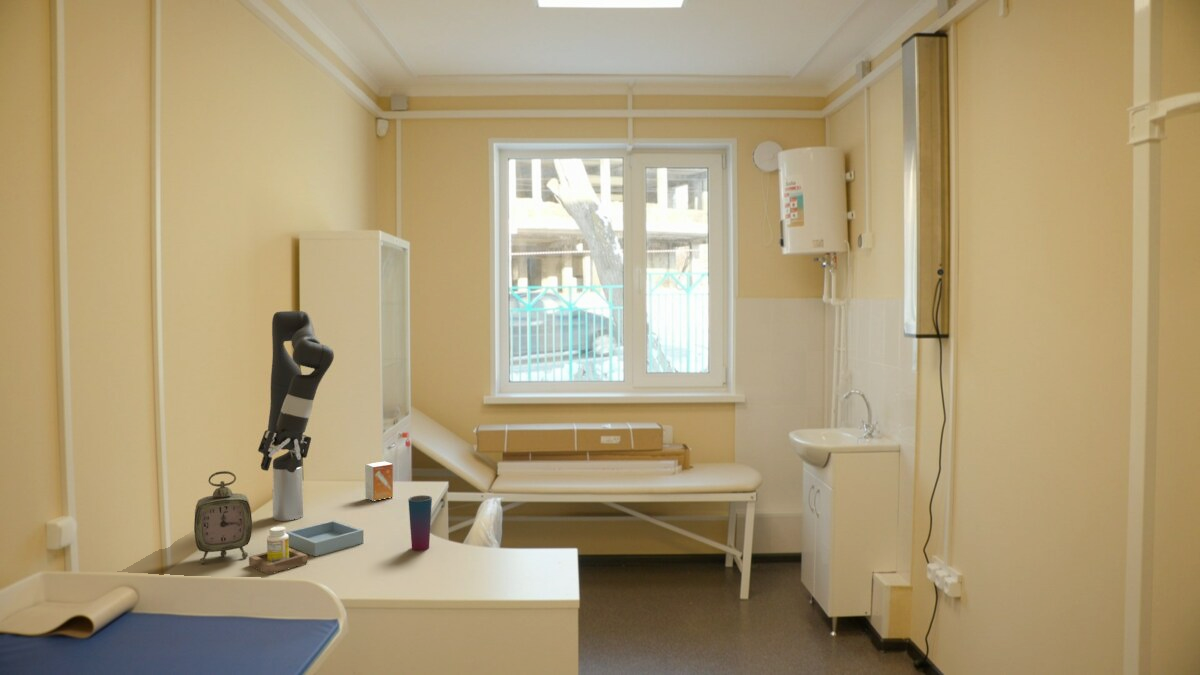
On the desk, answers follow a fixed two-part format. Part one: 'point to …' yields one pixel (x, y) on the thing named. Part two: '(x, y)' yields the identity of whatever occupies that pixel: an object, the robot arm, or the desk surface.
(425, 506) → the cup
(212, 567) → the desk surface
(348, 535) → the tray
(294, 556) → the holder
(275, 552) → the supplement bottle
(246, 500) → the tabletop clock
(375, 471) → the small box
